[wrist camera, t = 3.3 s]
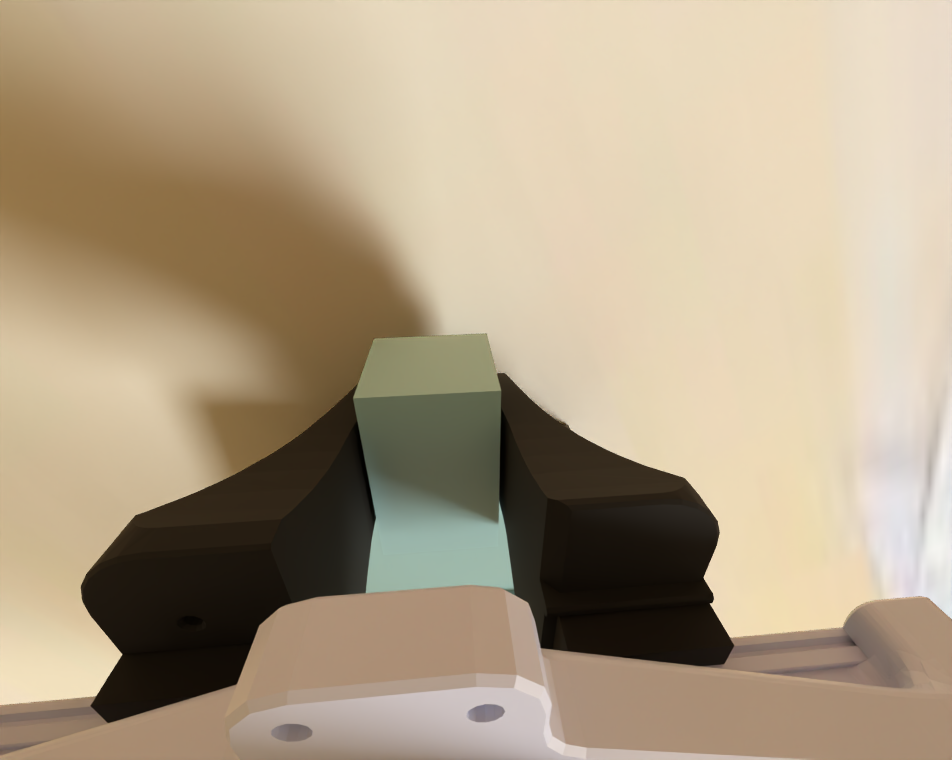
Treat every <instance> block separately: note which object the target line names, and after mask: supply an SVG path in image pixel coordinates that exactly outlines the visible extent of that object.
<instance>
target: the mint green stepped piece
mask: <svg viewBox="0 0 952 760" xmlns="http://www.w3.org/2000/svg"><path fill="white" fill-rule="evenodd" d="M353 401H354V406H355V411H356V416H357V421H358V427H359V432H360V437H361V442H362V447H363V452H364V458H365V463H366V468H367V473H368V478H369V484H370V489H371V494H372V499H373V504H374V509H375V515H376V521H375V525H374V531H373V536H372V542H371V550H370V559H369V567H368V576H367V585H366V593H374V592H387V591H399V590H411V589H424V588H436V587H448V586H461V585H478V586H490V587H500V588H502V589H504V590H506V591H508V592H509V593H511V594H513V595H515V593H514V586H513V579H512V571H511V564H510V557H509V550H508V543H507V535H506V529H505V524H504V519H503V515H502V511H501V507H500V503H499V478H500V425H501V388H500V384H499V380H498V376H497V372H496V368H495V365H494V361H493V357H492V353H491V349H490V345H489V341H488V337H487V334H465V335H442V336H419V337H396V338H374V340H373V343H372V346H371V349H370V351H369V354H368V357H367V360H366V363H365V366H364V369H363V371H362V374H361V377H360V380H359V383H358V386H357V389H356V391H355V394H354V397H353Z"/></svg>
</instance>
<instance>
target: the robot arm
mask: <svg viewBox="0 0 952 760" xmlns="http://www.w3.org/2000/svg"><path fill="white" fill-rule="evenodd" d="M497 376H498V380H499V384H500V388H501V425H500V478H499V503H500V507H501V511H502V515H503V519H504V524H505V529H506V535H507V543H508V550H509V557H510V564H511V571H512V579H513V586H514V593H515V595H513V594H511V593H509V592H508V591H506V590H504V589H502V588H500V587H490V586H478V585H461V586H448V587H436V588H424V589H411V590H399V591H387V592H374V593H366V585H367V576H368V567H369V559H370V550H371V542H372V536H373V531H374V525H375V521H376V515H375V509H374V504H373V499H372V494H371V489H370V484H369V478H368V473H367V468H366V463H365V458H364V452H363V447H362V442H361V437H360V432H359V427H358V421H357V416H356V411H355V406H354V401H353V397H354V394H355V391H356V389H357V386H358V384H357V385H356V386H355V387H354V388H353V389H352V390H351V391H350V392H349V393H348V394H347V395H346V396H345V397H344V398H343V399H342V400H341V401H340V402H339V403H337V404H336V405H335V406H334V407H333V408H332V409H331V410H330V411H329V412H328V413H326V414H325V415H324V416H323V417H322V418H320V419H319V420H318V421H317V422H316V423H314V424H313V425H312V426H311V427H309V428H308V429H307V430H306V431H305V432H303V433H302V434H301V435H299V436H298V437H296V438H295V439H294V440H292V441H291V442H289V443H288V444H286V445H285V446H283V447H282V448H280V449H279V450H277V451H276V452H274V453H272V454H271V455H269V456H267V457H266V458H264V459H262V460H260V461H258V462H257V463H255V464H253V465H251V466H249V467H248V468H246V469H244V470H242V471H241V472H239V473H237V474H235V475H233V476H231V477H229V478H226V479H224V480H222V481H220V482H218V483H216V484H214V485H212V486H209V487H207V488H205V489H203V490H200V491H198V492H196V493H193V494H191V495H189V496H186V497H184V498H181V499H178V500H176V501H173V502H170V503H168V504H165V505H163V506H160V507H157V508H155V509H152V510H150V511H147V512H144V513H141V514H138V515H136V516H135V517H134V518H133V519H132V520H131V521H130V522H129V524H128V525H127V526H126V527H125V528H124V530H123V531H122V532H121V533H120V534H119V536H118V537H117V538H116V539H115V540H114V542H113V543H112V544H111V545H110V546H109V548H108V549H107V550H106V551H105V552H104V554H103V555H102V556H101V557H100V558H99V560H98V561H97V562H96V563H95V564H94V566H93V567H92V568H91V569H90V570H89V572H88V573H87V574H86V576H85V578H84V580H83V583H82V585H81V593H82V601H83V603H84V605H85V607H86V609H87V610H88V612H89V614H90V615H91V617H92V618H93V619H94V620H95V622H96V623H97V624H98V625H99V626H100V628H101V629H102V630H103V631H104V632H105V634H106V635H107V636H108V637H109V638H110V640H111V641H112V642H113V643H114V645H115V646H116V647H117V648H118V649H119V651H120V652H121V653H122V654H123V655H122V656H121V658H120V659H119V661H118V663H117V664H116V666H115V667H114V669H113V671H112V672H111V674H110V675H109V677H108V678H107V680H106V682H105V683H104V685H103V686H102V688H101V690H100V691H99V693H98V694H97V696H95V697H84V698H73V699H63V700H52V701H41V702H30V703H19V704H9V705H0V760H952V619H951V618H950V617H948V616H947V615H946V614H945V613H944V612H943V611H942V610H941V609H940V608H939V607H937V606H936V605H935V604H934V603H933V602H932V601H931V600H930V599H929V598H927V597H922V596H918V597H906V598H895V599H884V600H874V601H870V602H866V603H863V604H861V605H859V606H857V607H856V608H855V609H854V610H853V611H852V612H851V613H850V614H849V615H848V617H847V618H846V620H845V622H844V625H843V627H842V628H831V629H820V630H809V631H798V632H788V633H777V634H766V635H755V636H744V637H733V638H730V637H729V635H728V634H727V632H726V630H725V629H724V627H723V625H722V624H721V622H720V620H719V619H718V617H717V615H716V614H715V612H714V610H713V609H712V607H711V605H710V604H709V603H712V602H713V600H714V597H713V593H712V591H711V590H710V588H709V587H708V585H707V583H706V582H705V580H704V578H703V577H704V575H705V572H706V570H707V568H708V565H709V563H710V560H711V558H712V556H713V553H714V551H715V548H716V546H717V542H718V538H719V533H720V532H719V526H718V521H717V520H716V518H715V517H714V515H713V514H712V513H711V511H710V510H709V508H708V507H707V506H706V504H705V503H704V501H703V500H702V499H701V497H700V496H699V494H698V493H697V492H696V491H695V490H694V488H693V487H692V486H691V485H690V484H689V482H688V481H687V480H686V479H685V478H683V477H679V476H676V475H673V474H670V473H667V472H663V471H660V470H657V469H654V468H650V467H647V466H644V465H642V464H639V463H637V462H634V461H631V460H629V459H626V458H624V457H621V456H619V455H617V454H615V453H612V452H610V451H608V450H606V449H604V448H602V447H600V446H598V445H596V444H594V443H592V442H590V441H588V440H586V439H585V438H583V437H581V436H579V435H578V434H576V433H574V432H573V431H571V430H570V429H568V428H567V427H565V426H563V425H562V424H561V423H559V422H558V421H556V420H555V419H554V418H552V417H551V416H550V415H549V414H547V413H546V412H545V411H543V410H542V409H541V408H540V407H539V406H538V405H536V404H535V403H534V402H533V401H532V400H531V399H530V398H529V397H528V396H527V395H526V394H525V393H524V392H523V391H522V390H521V389H520V388H519V387H518V386H517V385H516V384H515V383H514V382H513V381H512V380H511V379H510V378H509V377H508V376H507V375H506V374H505V373H498V374H497Z"/></svg>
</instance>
